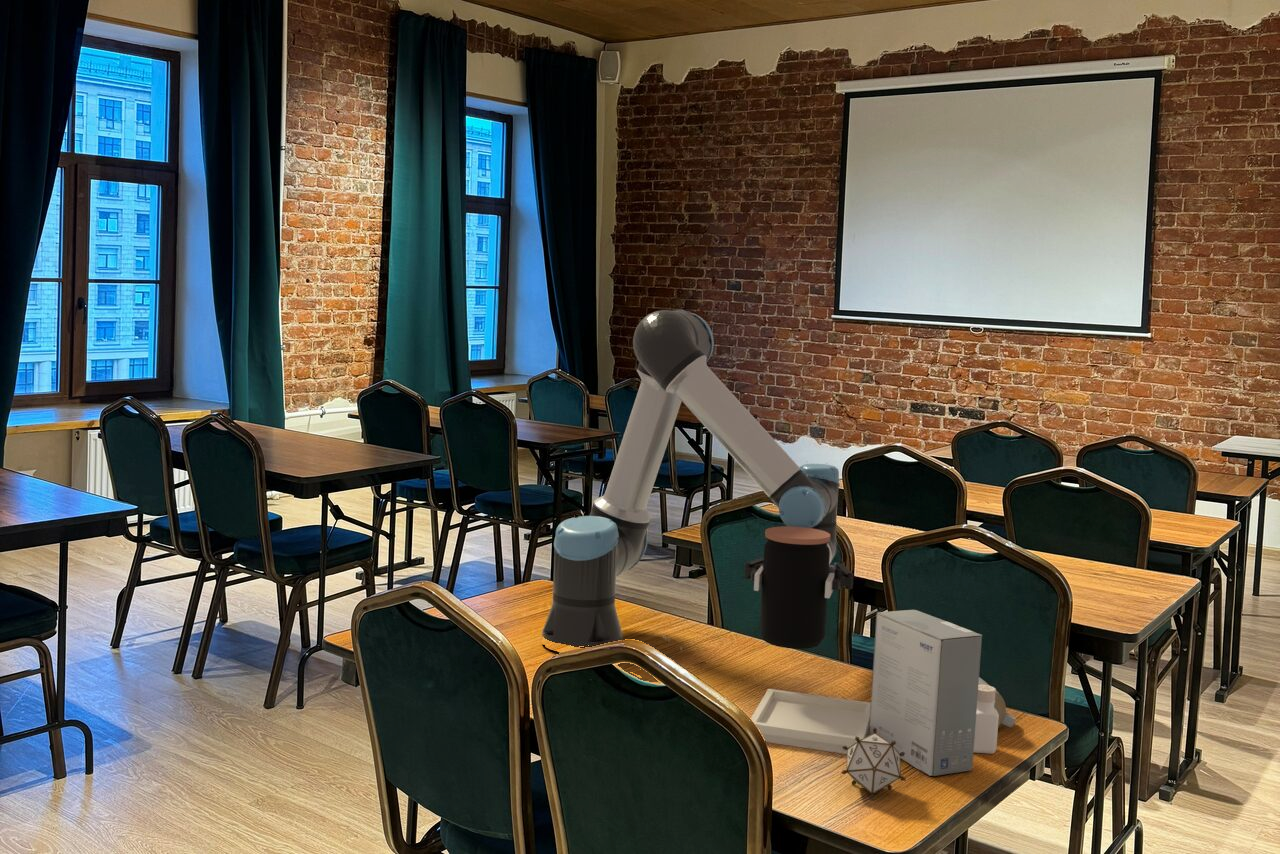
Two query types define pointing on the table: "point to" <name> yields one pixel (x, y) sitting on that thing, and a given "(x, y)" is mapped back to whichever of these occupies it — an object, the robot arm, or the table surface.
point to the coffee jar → (794, 587)
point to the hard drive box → (926, 690)
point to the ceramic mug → (1001, 708)
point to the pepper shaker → (986, 721)
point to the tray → (811, 720)
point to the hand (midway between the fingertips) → (791, 586)
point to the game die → (873, 763)
